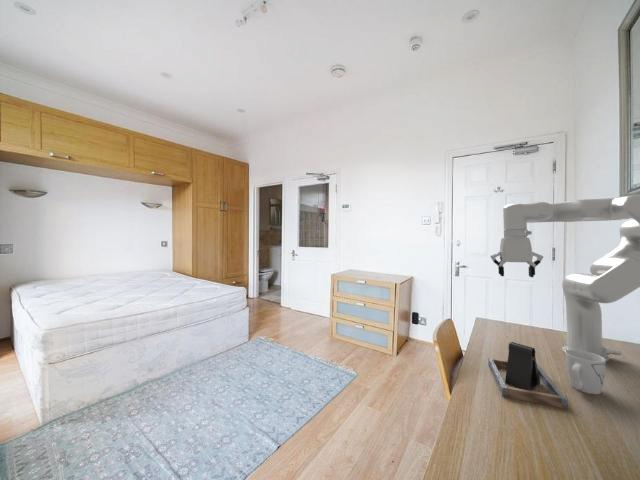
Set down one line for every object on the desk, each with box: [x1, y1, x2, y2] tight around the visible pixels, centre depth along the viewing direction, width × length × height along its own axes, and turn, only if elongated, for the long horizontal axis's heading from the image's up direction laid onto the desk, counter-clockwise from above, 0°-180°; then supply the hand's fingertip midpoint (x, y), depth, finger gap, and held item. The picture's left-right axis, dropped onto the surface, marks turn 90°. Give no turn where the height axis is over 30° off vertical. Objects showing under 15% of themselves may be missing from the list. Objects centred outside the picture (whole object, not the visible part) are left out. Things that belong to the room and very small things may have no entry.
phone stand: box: [504, 341, 541, 391], centre depth 79 cm, size 9×6×12 cm, turn 121°
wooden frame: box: [487, 357, 569, 410], centre depth 79 cm, size 14×20×2 cm
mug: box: [564, 350, 607, 395], centre depth 75 cm, size 11×8×10 cm
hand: (516, 276), depth 103 cm, fingers open, 9 cm apart
